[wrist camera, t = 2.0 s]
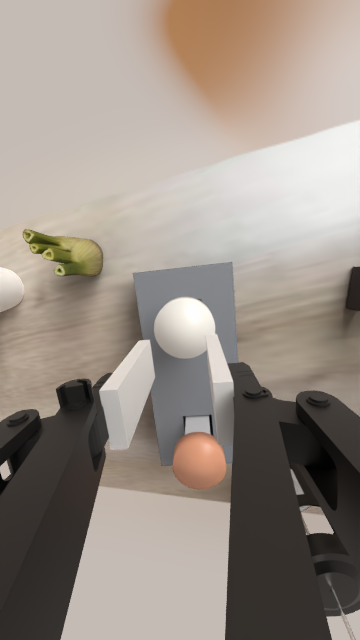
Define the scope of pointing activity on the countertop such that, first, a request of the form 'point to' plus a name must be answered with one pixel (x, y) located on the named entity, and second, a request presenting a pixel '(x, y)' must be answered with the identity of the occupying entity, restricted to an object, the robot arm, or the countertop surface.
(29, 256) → the countertop surface
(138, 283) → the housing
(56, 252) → the fennel bulb
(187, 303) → the white rounded knob
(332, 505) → the robot arm
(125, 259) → the countertop surface
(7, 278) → the foam cup
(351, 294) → the phone stand
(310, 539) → the french press
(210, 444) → the orange ball knob
